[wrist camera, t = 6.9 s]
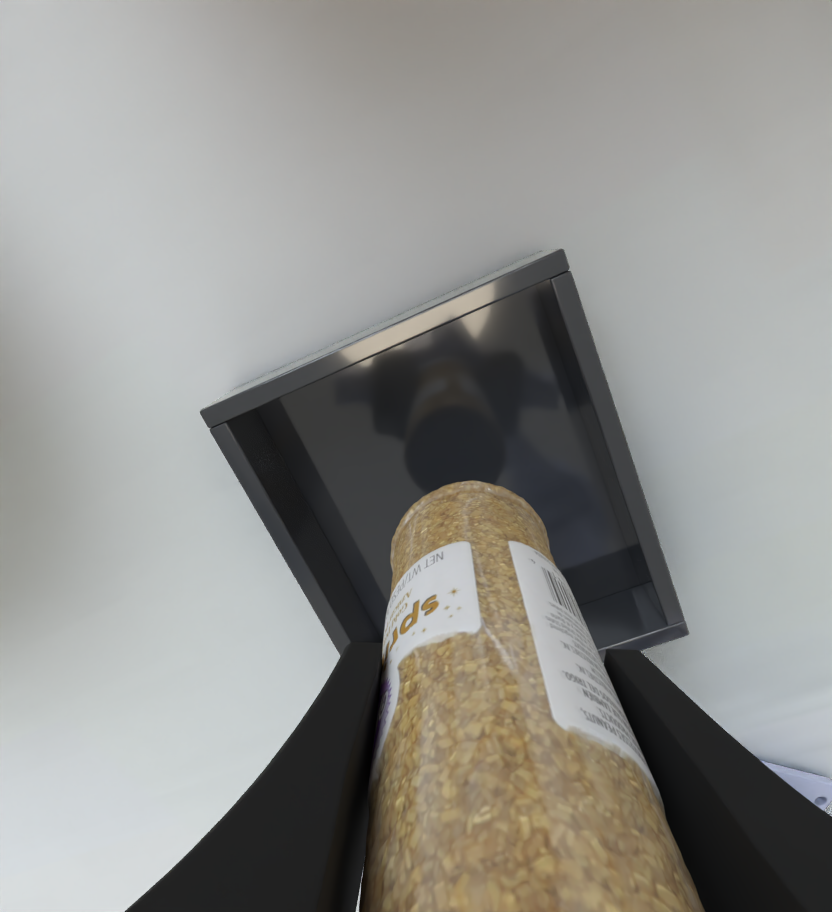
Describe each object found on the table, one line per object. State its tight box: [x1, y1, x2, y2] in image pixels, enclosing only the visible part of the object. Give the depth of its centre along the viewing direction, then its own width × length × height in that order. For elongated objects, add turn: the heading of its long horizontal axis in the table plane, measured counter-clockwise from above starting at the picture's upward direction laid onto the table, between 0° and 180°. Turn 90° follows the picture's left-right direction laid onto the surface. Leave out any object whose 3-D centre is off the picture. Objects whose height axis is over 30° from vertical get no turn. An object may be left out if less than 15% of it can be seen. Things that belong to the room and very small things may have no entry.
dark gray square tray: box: [200, 249, 689, 663], centre depth 19 cm, size 13×11×3 cm
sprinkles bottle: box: [359, 480, 705, 912], centre depth 9 cm, size 5×5×13 cm
